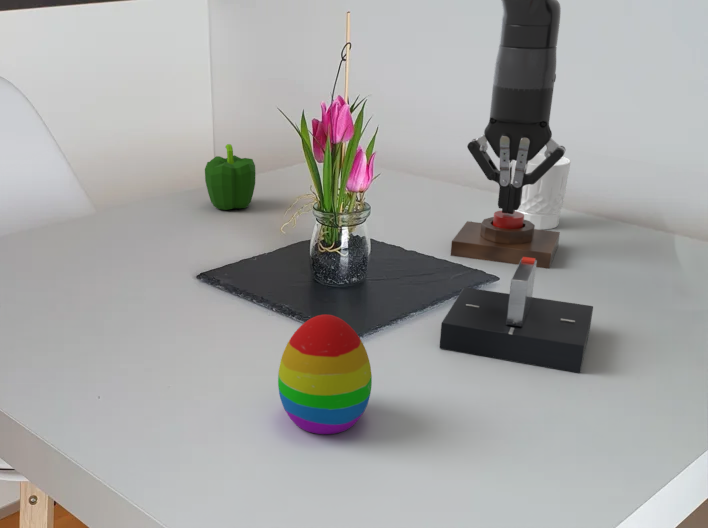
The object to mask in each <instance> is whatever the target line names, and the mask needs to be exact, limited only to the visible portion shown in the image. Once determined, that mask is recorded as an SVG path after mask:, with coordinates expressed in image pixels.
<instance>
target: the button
mask: <svg viewBox="0 0 708 528" xmlns="http://www.w3.org/2000/svg"><path fill="white" fill-rule="evenodd" d="M493 217H494V218H493V226H496V227H499V228H505V229H520V228H523V222H524V214H522V213H520V212H516V211H515V212H514V213H513V214H508V213H502V210H497V211H494V213H493Z"/></svg>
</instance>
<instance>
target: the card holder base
mask: <svg viewBox="0 0 708 528" xmlns="http://www.w3.org/2000/svg"><path fill="white" fill-rule="evenodd" d="M509 295H510V293H505V292H499V291H492V290H485V289H480V288H471V287H465V286H464V287H463V288H462V289H461V291H460V293H459V294H458V296H457V297H456V299H455V301H454V302H453V303H452V306H451V307H450V308H449V310H448V312H447V313H446V315H445V316H444V318H443V320H442V321H441V325H440V337H439V349H441V350H447V351H453V352H458V353H465V354H470V355H475V356H481V357H487V358H492V359H498V360H504V361H509V362H515V363H521V364H526V365H532V366H538V367H542V368H543V367H544V368H550V369H553V370H554V369H555V370H560V371H566V372H570V373H571V372H572V373H578V374H581V371H582V366H583V361H584V357H585V352H586V348H587V344H588V339H589V336H590V331H591V326H592V317H593V312H594V306H593V305H588V304H581V303H575V302H568V301H562V300H554V299H547V298H541V297H533V296H532V303H531V305H530V308H529V310H528V313H527V315H526V318H525V320H524V323H523V325H522V327H519V326H513V325H507V324H506V321H507V312H508V304H509Z"/></svg>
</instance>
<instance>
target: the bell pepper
mask: <svg viewBox="0 0 708 528" xmlns="http://www.w3.org/2000/svg"><path fill="white" fill-rule="evenodd" d="M225 149H226V158H224V157H223V156H218V155H216V156H214V157H213V158H212V159H210V161H207V162H206V165H205V167H204V180H205V185H206V190H207V193H208V196H209V197H208V198H209V199H210V203H211V204H212V206H213V207H214V208H216V209H218V210H224V211H228V210H232V209H246V208H248V207H249V206H250V205H251V202H252V199H253V195H254V192H255V191H254V190H255V187H256V163H255V162H254V159H253V158H249V157H242V158H241V157H239V156H238V155H234V149H233V145H232V144H230V143H228V144H226V145H225Z"/></svg>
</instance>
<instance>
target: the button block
mask: <svg viewBox="0 0 708 528" xmlns="http://www.w3.org/2000/svg"><path fill="white" fill-rule="evenodd" d="M493 218H494V216H492V217H488V218H484V219H483V220H482V222H477V221H469V220H467V221H466V222H465V223H464V225H463V226H462V227H461V228H460V229H459V230H458V232H457V234H456V235H455V236H454V238H453V239H452V240H451V245H450V256H451V257H457V258H465V259H472V260H480V261H487V262H493V263H494V262H496V263H502V264H503V263H504V264H509V265H510V264H511V265H516V266H518V265H519V263H520V261H521V259H522V258H523V257H529V258H535V260H537V263H536V268H541V269H548V270H549V269H550V267H551V265H552V263H553V261H554V257H555V255H556V253H557V251H558V248H559V242H560V235H561V232H560V231H554V230H548V229H545V230H538V229H534V228H535V225H534V224H533V223H531V222H530V221H527V220H524V222H523V228H520V229H505V228H499V227H496V226H493Z"/></svg>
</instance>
